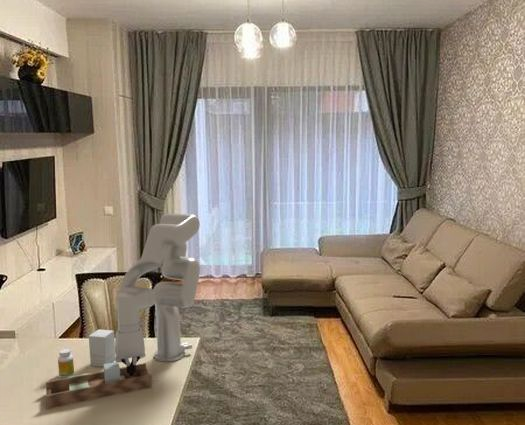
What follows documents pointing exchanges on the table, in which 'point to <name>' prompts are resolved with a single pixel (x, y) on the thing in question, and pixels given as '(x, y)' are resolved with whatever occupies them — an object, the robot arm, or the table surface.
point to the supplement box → (102, 347)
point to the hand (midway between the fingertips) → (131, 374)
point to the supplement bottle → (65, 363)
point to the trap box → (94, 386)
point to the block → (111, 372)
